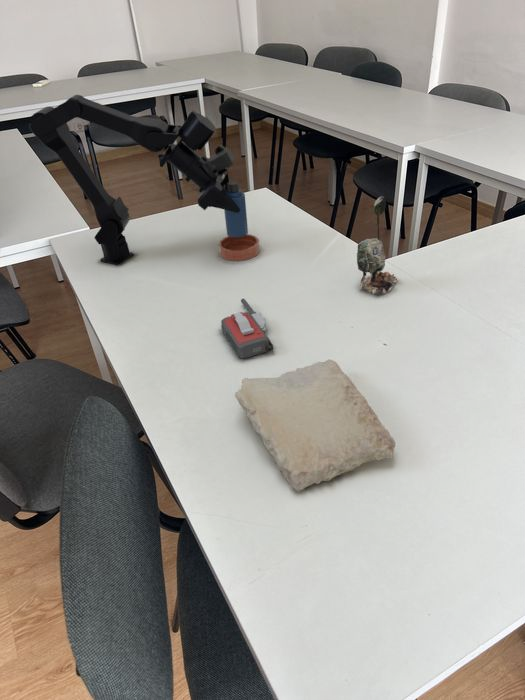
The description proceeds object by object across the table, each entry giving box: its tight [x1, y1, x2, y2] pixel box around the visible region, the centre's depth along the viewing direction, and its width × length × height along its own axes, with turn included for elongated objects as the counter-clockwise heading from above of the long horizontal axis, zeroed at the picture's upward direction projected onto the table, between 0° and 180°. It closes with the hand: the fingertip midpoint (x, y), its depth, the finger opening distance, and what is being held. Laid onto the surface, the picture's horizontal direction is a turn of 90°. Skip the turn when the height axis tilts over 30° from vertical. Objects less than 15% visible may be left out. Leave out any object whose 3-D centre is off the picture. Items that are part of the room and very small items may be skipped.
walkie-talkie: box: [220, 298, 274, 359], centre depth 108 cm, size 9×4×20 cm
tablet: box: [234, 359, 396, 491], centre depth 84 cm, size 24×8×20 cm
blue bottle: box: [223, 180, 249, 238], centre depth 131 cm, size 5×5×13 cm
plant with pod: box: [356, 195, 399, 295], centre depth 114 cm, size 8×11×20 cm
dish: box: [218, 233, 261, 262], centre depth 137 cm, size 10×10×3 cm
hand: (240, 207), depth 130 cm, fingers closed on blue bottle, 5 cm apart
